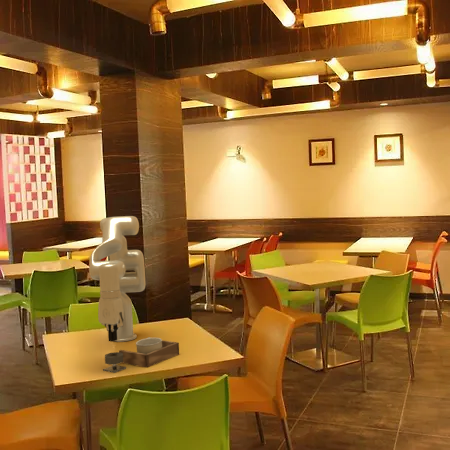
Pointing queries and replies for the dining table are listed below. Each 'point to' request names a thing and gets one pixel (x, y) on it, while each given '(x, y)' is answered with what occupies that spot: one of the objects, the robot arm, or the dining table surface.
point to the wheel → (113, 358)
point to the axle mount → (114, 368)
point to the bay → (151, 355)
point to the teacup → (148, 345)
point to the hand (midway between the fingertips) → (113, 340)
